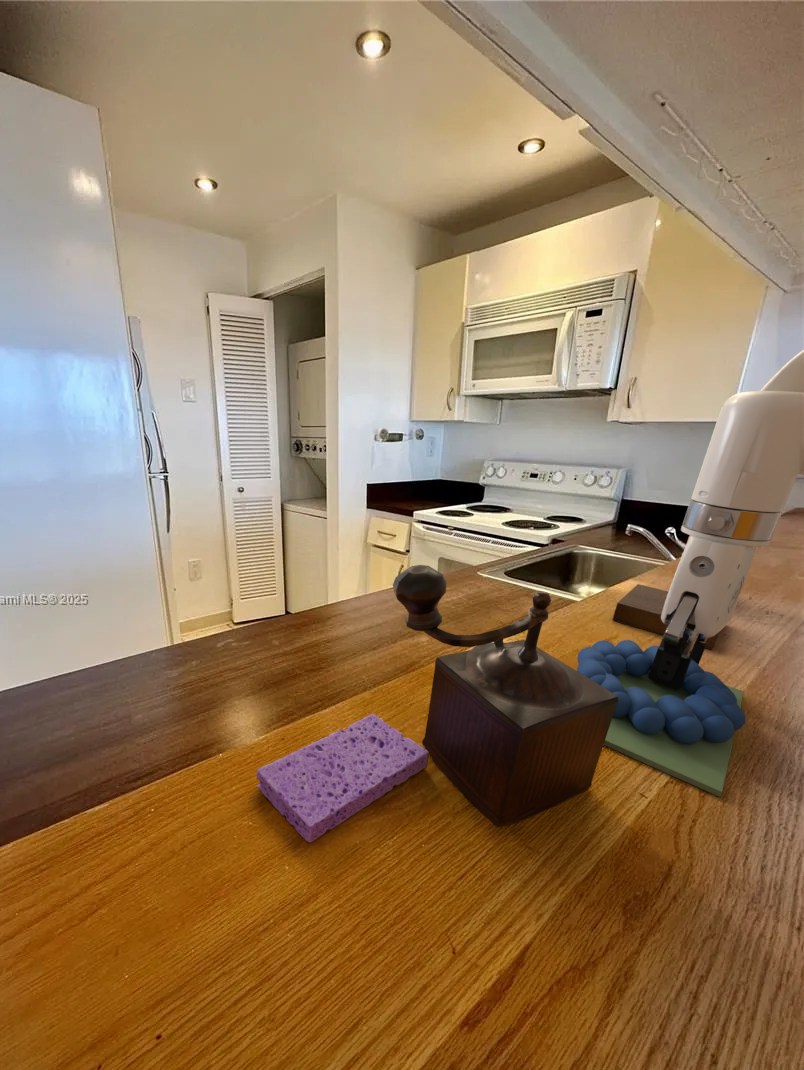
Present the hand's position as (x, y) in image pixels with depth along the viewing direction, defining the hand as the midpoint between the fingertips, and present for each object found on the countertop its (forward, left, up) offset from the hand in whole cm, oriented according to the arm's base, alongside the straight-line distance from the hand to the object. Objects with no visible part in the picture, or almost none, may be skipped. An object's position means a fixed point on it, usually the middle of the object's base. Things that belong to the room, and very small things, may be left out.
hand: (672, 674), depth 55 cm
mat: (+4, +5, -2) cm, 7 cm away
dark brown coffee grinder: (+25, +18, -2) cm, 31 cm away
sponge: (+37, +20, -2) cm, 42 cm away
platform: (-11, -20, -2) cm, 23 cm away
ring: (+4, +4, -1) cm, 6 cm away
